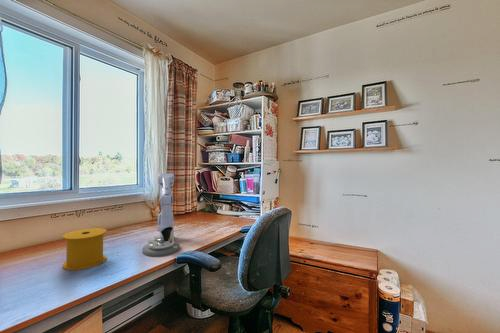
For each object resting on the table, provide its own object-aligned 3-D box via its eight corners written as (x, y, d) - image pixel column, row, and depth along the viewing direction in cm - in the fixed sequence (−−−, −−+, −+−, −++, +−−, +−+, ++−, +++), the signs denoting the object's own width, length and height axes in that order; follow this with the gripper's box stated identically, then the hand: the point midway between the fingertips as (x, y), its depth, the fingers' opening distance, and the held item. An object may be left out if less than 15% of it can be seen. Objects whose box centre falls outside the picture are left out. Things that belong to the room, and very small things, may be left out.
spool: (110, 262, 116) (110, 232, 116) (64, 274, 103) (65, 240, 103) (101, 252, 129) (102, 226, 129) (60, 261, 116) (60, 232, 116)
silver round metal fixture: (142, 249, 129) (143, 235, 129) (157, 241, 142) (157, 228, 142) (166, 251, 126) (166, 237, 126) (178, 242, 140) (178, 230, 140)
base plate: (155, 243, 146) (155, 239, 146) (185, 245, 143) (185, 241, 143) (134, 255, 126) (134, 250, 126) (168, 257, 123) (168, 253, 123)
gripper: (166, 219, 121) (166, 245, 121) (179, 214, 136) (179, 237, 136) (154, 219, 122) (153, 244, 122) (168, 213, 137) (167, 236, 137)
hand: (166, 240), depth 129 cm, fingers closed
